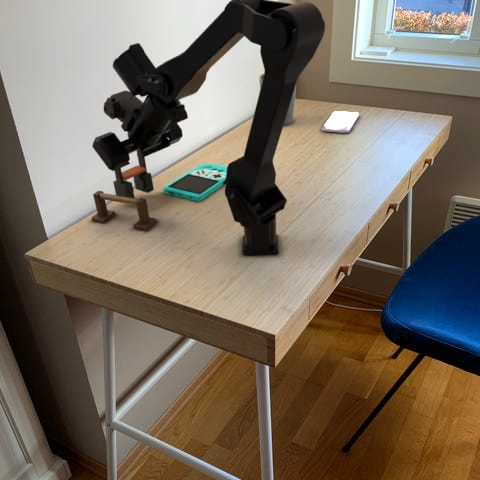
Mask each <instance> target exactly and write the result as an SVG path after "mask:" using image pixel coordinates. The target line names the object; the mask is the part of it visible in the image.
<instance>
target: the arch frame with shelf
mask: <svg viewBox="0 0 480 480" xmlns="http://www.w3.org/2000/svg"><path fill="white" fill-rule="evenodd" d="M135 152H136V157H137V160H138V165H135V166H132V167H130V168H128V169H126V170H124V171H122V168H120V169H117V170H114V171H113V172H114V176H115V180H113V181H112V182H113V183H112V184H113V187H114V192H115V195H117V196H124V197H130V198H136V197H135V191H134V188H135V190H136V191H140V192H143V193H146V194H149V193H151V192H153V191H154V190H155V189H154V182H153V177H152V173H151V172H148V168H147V163H146V158H145V157H144V151H143V152H141V150H140V149H138V150H136V151H134V152H133V153H135ZM129 155H131V153H129ZM132 178H133V182H132V181H128V180H129V179H132ZM133 183H134V186H135V187H134V186H133Z"/></svg>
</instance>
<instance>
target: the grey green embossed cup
mask: <svg viewBox="0 0 480 480" xmlns="http://www.w3.org/2000/svg"><path fill="white" fill-rule="evenodd" d="M263 77H264V73H262V74H260V75H259V90H260V89H261V85H262V81H263ZM296 90H297V84H296V85H295V89H294V92H293V95H292V99H291V102H290V105H289V108H288V112H287V115H286V118H285V122H284V125H283V127H284V126H289V125H290V124H292V123H293V121H294V111H295V100H296Z"/></svg>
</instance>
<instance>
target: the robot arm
mask: <svg viewBox="0 0 480 480" xmlns="http://www.w3.org/2000/svg"><path fill="white" fill-rule="evenodd" d="M325 30H326V21H325V20H324V17H323V15H322V12H321V11H320V9H319V8H318V7H317V6H316V5H315V4H314V3H312V2H309V1H304V2H303V1H302V2H299V3H295V4H294V3H290V2H284V1H278V0H277V1H276V0H230V1H228V3H226V5H225V7H224V10H222V12H220V13H219V14H218V15H217V17H216V18H215V19H214V20H213V21H212V22H211V23H210V24H209V25H208V26H207V27H206V28H205V29H204V30H203V31H202V33H200V34H199V36H198V37H197V38H196V39H195V40H194V41H193V42H192V43H191V44H190V45H189V46H188V48H186V49H185V50H184V51H183V52H181V53H179V54H178V55H176V56H174V57H172V58H170V59H168V60H166V61H164V62H162V63H161V64H160V65H158V66H157V67H156V66H155V64H154V63H153V62H152V60H151V59H150V57H149V56H148V55H147V54H146V51H145V50H144V47H143V46H142V44H140V42H137V43H133V44H130V45H129V47H128V49H126V50H124V51H123V52H122V53H120V55H118V56H117V58H115V59H114V61H113V62H112V69H113V70H114V72H115V73H116V74H117V76H118V77H119V78H120V80H121V81H122V82H123V84H124V85H125V87H126V88H127V89H128V90H122V91H120V92H116V93H113V94H111V95H110V97H107V98H106V100H105V102H103V113H104V114H105V115H106V116H107V117H108V118H110V119H111V120H115V119H117V120H119V122H121V125H120V127H121V129H122V130H123V132H124V133H125V132H126V133H127V138H126V139H124V140H120V139H119V137H118V136H117V134H116V133H115V132H112V131H109V132H106V133H103V134H101V135H99V136H95V138H94V140H93V142H92V148H93V150H94V151H95V153H96V154H97V155H98V157H99V158H100V159H101V161H102V162H103V163H104V165H105V166H106V167H107V169H108V170H110V171H111V172H115V171H114V170H117V169H120V168H121V169H123V168H124V167H126V166H128V165H130V164H131V162H130V160H131V158H130V154H133V153H135V152H137V151H136V150H138V149H140V150H141V152H143V151H144V157H148V156H150V155H152V154H155V153H157V152H160V151H162V150H164V149H166V148H169V147H171V146H172V145H174V144H176V143H179V142H180V140H181V139H182V138H183V129H182V127H181V126H180V125H179V124H178V123H181V122H183V121H185V120H187V119H188V118H189V116H188V115H189V114H188V112H187V110H186V106H185V104H183V103H182V102H181V100H183V99H184V98H187V97H190V96H193V95H195V94H197V93H198V92H199V90H200V89H201V87H202V86H203V84H204V83H205V82H206V80H207V75H208V72H209V71H210V70H211V68H212V67H214V65H215V64H216V63H218V62H219V61H220V60H221V59H222V58H223V57H224V56H225V55H226V54H227V53H229V51H231V50H232V49H233V47H234V46H236V45H237V44H238V43H239V42H240V41H241V40H242V39H243V38H244V37H245V38H246V39H247V40H248V41H249V42H250V43H252V44H255V45H257V46H260V49H259V52H260V57H261V60H262V65H263V70H264V73H263V74H264V77H263V81H262V85H261V89H260V88H259V93H258V97H257V100H256V105H255V109H254V113H253V117H252V120H251V125H250V129H249V133H248V137H247V142H246V144H245V149H244V152H243V156H240V157H239V158H237V159H235V160H232V162H229V163H228V165H227V166H226V167H227V175H226V179H225V181H224V182H223V186H224V196H225V198H226V200H227V204H228V206H229V209H230V212H231V215H232V218H233V220H234V222H235V223H238V224H239V225H240V227H243V236H242V245H241V255H243V256H263V255H265V256H266V255H278V254H279V253H280V247H279V234H278V233H277V214H278V213H279V212H281V211H284V209H285V207H286V205H287V202H288V200H287V197H286V196H285V195H284V194H283V192H282V191H281V190H280V188H279V187H278V185H277V184H276V179H277V178H276V177H277V171H276V169H275V165H274V158H275V154H276V151H277V148H278V144H279V141H280V138H281V134H282V131H283V128H284V126H283V125H284V122H285V118H286V115H287V112H288V108H289V105H290V102H291V99H292V95H293V92H294V89H295V85H296V86H297V82H298V79H299V77H300V76H301V74H302V73H303V71H304V70H305V69H306V68H307V66H308V65H309V63H310V62H311V60H313V58H314V56H315V54H316V52H317V50H318V48H319V46H320V44H321V42H322V40H323V38H324V34H325ZM138 96H140V97H141V98H144V97H145V99H144V100H143V101H142V100H141V99H139V97H138ZM134 151H135V152H134ZM129 153H130V154H129Z"/></svg>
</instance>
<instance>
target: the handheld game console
mask: <svg viewBox="0 0 480 480" xmlns="http://www.w3.org/2000/svg"><path fill="white" fill-rule="evenodd" d="M227 167H228V166H224V165H219V164H213V163H203V164H200V165H198V166H196V167H195V168H193V169H191V170H190V171H188V172H187V173H185V174H183V175H182V176H180V177H178V178H176V179H175V180H173V181H172V182H171V183H169V184H167V185H165V186H164V187H163V193H164V194H166V195H170V196H174V197H178V198H182V199H185V200H191V201H195V202H201V201H203V200H204V199H206V198H207V197H208V196H210V195H211V194H213V193H215V191H217V190H218V189H220V188H222V187H223V186H224V185H223V182H224V181H225V179H226V175H227Z"/></svg>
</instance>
